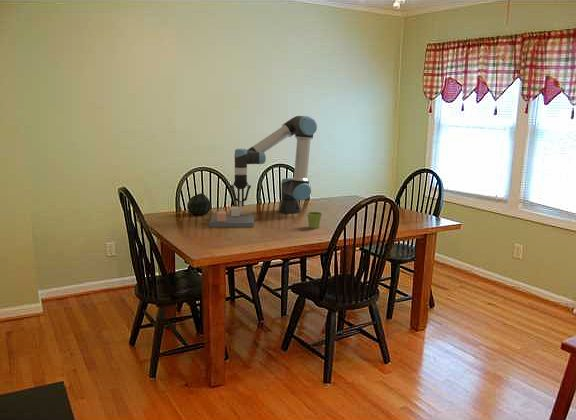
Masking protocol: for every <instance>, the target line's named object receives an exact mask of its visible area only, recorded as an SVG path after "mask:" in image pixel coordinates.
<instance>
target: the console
mask: <svg viewBox="0 0 576 420" xmlns="http://www.w3.org/2000/svg"><path fill="white" fill-rule="evenodd" d="M254 227H255V214H254V213H240V215H239V216H231V213H226V222H217V213H212V214H211V217H210V220H209V224H208V228H242V229H243V228H247V229H248V228H253V229H254Z"/></svg>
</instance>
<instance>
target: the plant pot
mask: <svg viewBox="0 0 576 420" xmlns="http://www.w3.org/2000/svg"><path fill="white" fill-rule="evenodd" d="M306 215H307V220H308V221H307V222H308V227H310V229H319V228H320V226H321V225H320V224H321V219H322V215H323V213H322V212H320V211H307V212H306ZM318 227H319V228H318Z"/></svg>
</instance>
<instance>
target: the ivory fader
mask: <svg viewBox="0 0 576 420" xmlns="http://www.w3.org/2000/svg"><path fill="white" fill-rule="evenodd" d="M230 210H231V211H230V214H231V216H239V215H240V214H241V212H239V207H238V206H231V208H230Z"/></svg>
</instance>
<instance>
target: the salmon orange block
mask: <svg viewBox="0 0 576 420" xmlns="http://www.w3.org/2000/svg"><path fill="white" fill-rule="evenodd" d="M216 214H217V222H226V214H227V211H224V210H222V211H221V210H219V211H217V213H216Z"/></svg>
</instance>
